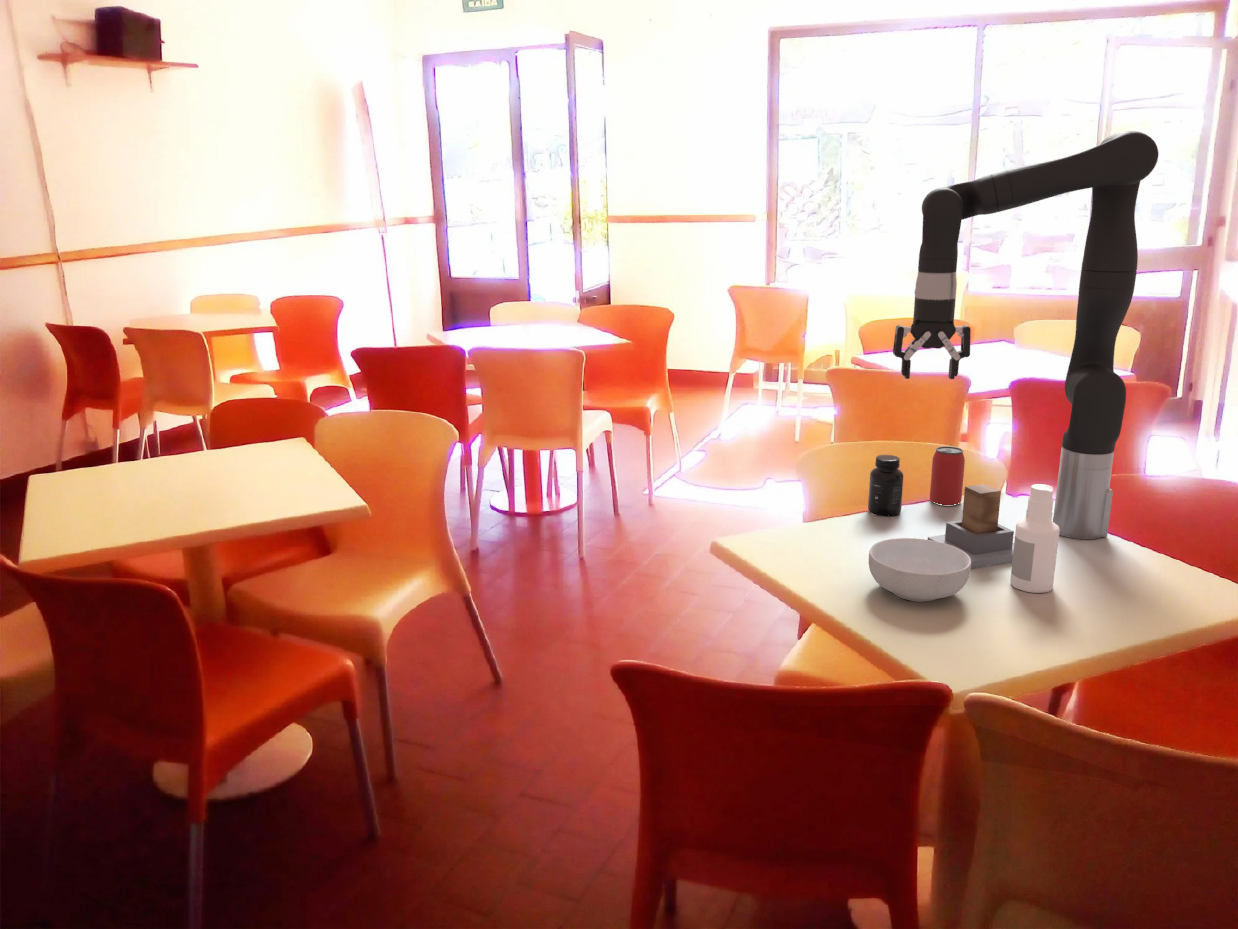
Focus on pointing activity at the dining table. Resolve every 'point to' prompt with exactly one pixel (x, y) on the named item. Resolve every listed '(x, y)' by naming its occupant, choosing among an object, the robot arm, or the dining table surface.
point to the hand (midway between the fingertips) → (929, 378)
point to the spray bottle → (1036, 544)
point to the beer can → (947, 475)
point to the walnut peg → (981, 509)
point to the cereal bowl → (919, 568)
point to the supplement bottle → (886, 487)
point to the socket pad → (979, 544)
